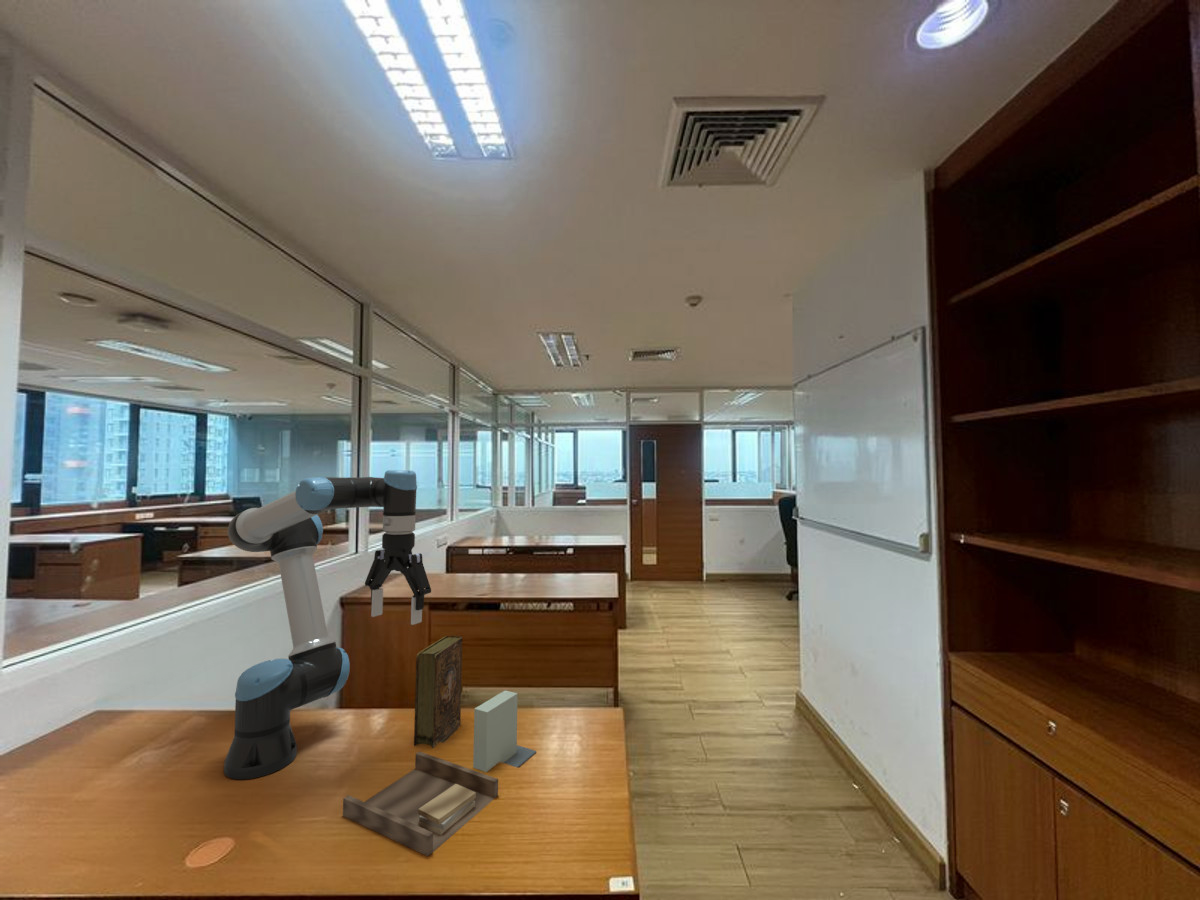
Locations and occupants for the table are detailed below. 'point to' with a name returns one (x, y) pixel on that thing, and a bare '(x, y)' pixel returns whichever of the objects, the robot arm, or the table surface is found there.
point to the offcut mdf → (445, 822)
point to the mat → (520, 756)
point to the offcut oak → (446, 803)
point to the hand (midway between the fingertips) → (396, 619)
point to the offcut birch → (440, 831)
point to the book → (438, 691)
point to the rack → (419, 802)
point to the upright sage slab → (495, 731)
